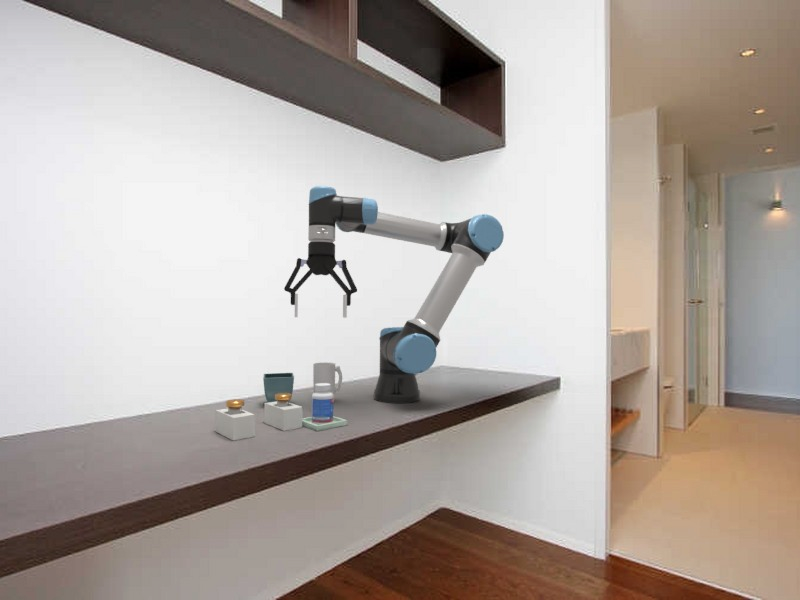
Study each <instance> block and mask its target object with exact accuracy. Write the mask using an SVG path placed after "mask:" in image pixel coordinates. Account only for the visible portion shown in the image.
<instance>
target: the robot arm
mask: <svg viewBox="0 0 800 600" xmlns="http://www.w3.org/2000/svg"><path fill="white" fill-rule="evenodd" d="M308 198H309V199H308V237H307V238H308V241H309V243H308V244H307V247H308V248H307V259H302V258H299V257H298V258H297V259H296V266H295V268H294V269H293V271H292V273H291V275H290V277H289V279H288V280H287V282H286V284H285V286H284V288H283V289H284V291H285V292H288V293H289V294H290V305H291V306H294V318H298V313H299V312H298V310H299V309H298V308H299V307H298V306H299V304H298V303H299V301H298V300H299V294H298V293H296V292H297V291H298V290H299V289H300V287H301V286H303V284H304V283H306V281H307V280H308V279H309V277H311V276H312V274H313V275H314V276H329V275H330V276H331V277H332V278H333V280H334V281H335V282H336V284H337V285H338V286H339V287H340V288H341V289H342V291H344V293H345V294H343V295H342V300H343V302H342V318H344V319H345V318H347V317H348V315H347V313H348V310H347V308H348V306H351V303H352V294H354V293H357V292H358V289H357V286H356V284H355V282H354V280H353V278H352V276H351V274H350V271H349V270H348V267H347V260H346V259H342V260H337V259H336V244H335V243H334V242H335V241H336V227H337V228H338V229H339V230H340V231H342V233H343V232H344V233H350V232H351V233H352V232H355V233H360V234H365V235H371V236H375V237H376V236H377V237H383V238H387V239H392V240H397V241H402V242H403V241H404V242H409V243H415V244H417V245H418V244H419V245H425V246H431V247H434V248H435V250H436V251H439V252H444V253H449V254H451V255H450V257H449V259H448V261H447V262H446V263H445V265H444V267H443V268H442V271H441V272H440V275H439V276H438V277H437V279H436V281H435V283H434V284H433V286H432V288H431V289H430V291H429V293H428V295H427V296H426V298H425V299H424V301H423V303H422V305H420V308H419V309H418V312H416V315H415V316H414V317H413V318H411V319H408V320H406V322H405V324H404V325H403V326H395V327H394V326H393V327H384V328H382V329H381V330H380V332H379V333H380V334H379V335H380V336H379V338H378V339H379V375H378V379H377V381H376V386H375V389H374V390H373V400H375V401H378V402H384V403H391V404H392V403H393V404H405V403H413V402H418V401H420V400H421V391H420V389H419V386H418V381H417V380H418V379H417V377H416V375H417V374H422V373H425V372H426V371H428V370H429V369H430V368H431V367H432V366H433V365H434V363H435V361H436V358H437V347H438V346H439V344H440V342H441V336H440V332H441V330H442V328H443V327H444V325H445V323H446V322H447V320H448V318H449V316H450V314H451V312H452V311H453V309H454V307H455V305H456V303H457V301H458V300H459V299H460V297H461V295H462V294H463V292H464V290H465V289H466V287H467V285H468V283H469V281H470V279H471V278H472V276H473V274H474V272H475V271H476V269H477V268H478V267H481V266H484V265H485V263H486V262H487V260H488V258H489V256H490V254H491V253H492V252H496V250H499V248H500V247H501V246H502V245H503V241H504V237H505V236H504V230H503V226H502V224H501V222H500V221H499V220H498V219H497V218H496V217H494V216H493V215H490V214H487V213H486V214H485V213H484V214H477V215H474V216H473V217H472V218H469V219H466V220H463V221H460V222H453V223H452V222H446V221H445V222H444V221H442V222H440V223H434V222H430V221H425V220H420V219H419V220H418V219H416V218H410V217H405V216H399V215H394V214H390V213H385V212H380V211H378V210H379V209H378V208H379V207H378V201H376V199H374V198H368V197H356V196H354V197H353V196H343V195H337V191H336V189H335V188H334V187H333V186H332V187H331V186H327V185H316V186H314V187H311V189H310V190H309V197H308ZM305 265H307V267H308V268H309V270H307V272H306V273H305V274H304V276H302V277H301V278H300V280H299V281H297V282H296V284H295V285H294V286H293V287H291V286H292V284H293V283H294V281H295V279H296V277H297V275H298V273H299V271H300V269H301V268H302V267H304V266H305ZM336 266H338V268H339V269H341V271H342V273H343V275H344V277H345V279H346V281H347V283H348V286H349V287H348V286H347V285H346V283H345V282H344V281H343V280H342V279H341V277H340V276H339V275H338V274H337V272H336V271H335V268H336ZM349 288H350V289H349Z"/></svg>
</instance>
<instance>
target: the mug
mask: <svg viewBox="0 0 800 600" xmlns="http://www.w3.org/2000/svg"><path fill="white" fill-rule="evenodd" d="M312 367H313V371H312V372H313V373H312V374H313V375H312V376H313V379H312V381H313V384H312V385H313V393H315V392H316V390H315V384H318V383H329V384H331V390H330V392H331V393H332V394H333V404H334V403H335V394H336V393H337V392H340V390H341V386H342V382H343V373H342V370H341V367H340V366H339V365H336V363H334V362H315V363H313V366H312ZM336 372H337V374H338V382H337V384H336ZM335 385H336V386H335Z"/></svg>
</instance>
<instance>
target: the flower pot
mask: <svg viewBox="0 0 800 600" xmlns="http://www.w3.org/2000/svg"><path fill="white" fill-rule="evenodd" d="M262 379H263V389H264V390H263V391H264V396H265V397H264V398H265V400H266V403H269V402H276V401H277V400H276V399H275V394H279V393H290V394H292V395H293V391H294V383H295V382H294V381H295V375H294V373H293V372H280V373H279V372H278V373H277V372H276V373H274V372H273V373H264V374H263V378H262ZM289 402H291V399H289Z"/></svg>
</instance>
